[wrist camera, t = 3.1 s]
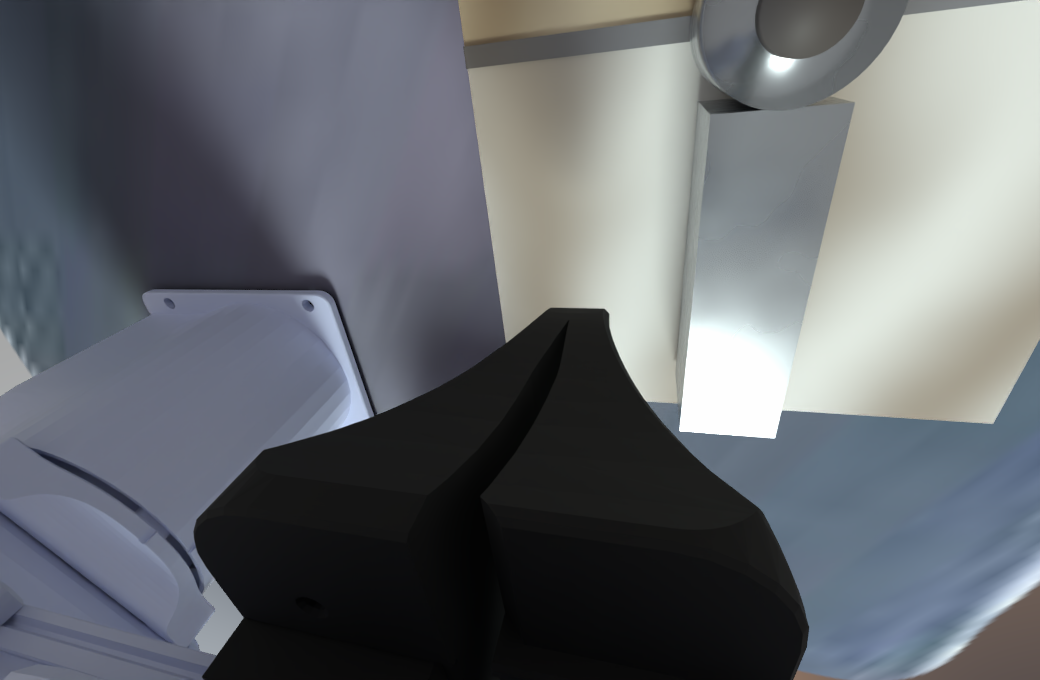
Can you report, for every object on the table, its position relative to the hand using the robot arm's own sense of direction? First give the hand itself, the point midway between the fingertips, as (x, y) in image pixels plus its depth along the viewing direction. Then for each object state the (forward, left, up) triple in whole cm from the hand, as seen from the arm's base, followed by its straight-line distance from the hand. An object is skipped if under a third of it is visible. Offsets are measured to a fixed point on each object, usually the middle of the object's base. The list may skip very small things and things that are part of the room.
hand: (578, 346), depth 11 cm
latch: (+4, +2, -4) cm, 6 cm away
